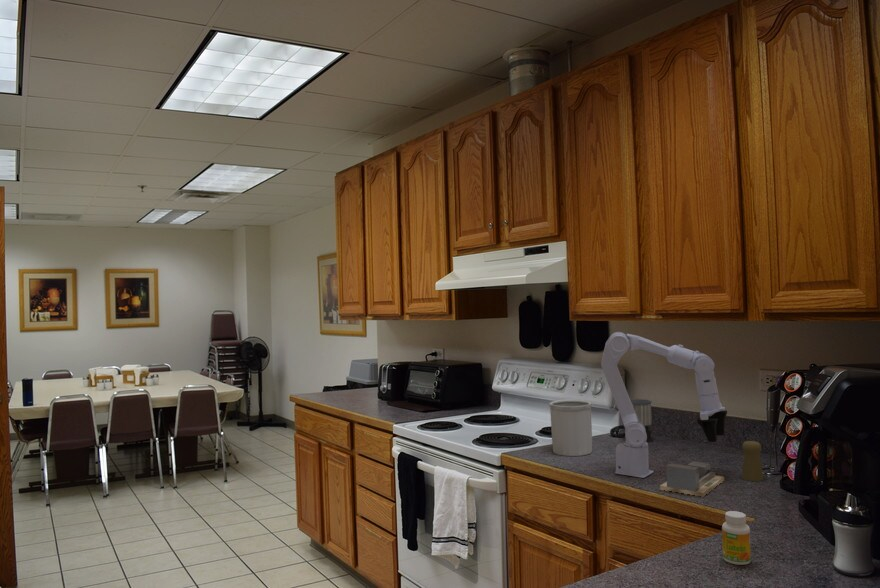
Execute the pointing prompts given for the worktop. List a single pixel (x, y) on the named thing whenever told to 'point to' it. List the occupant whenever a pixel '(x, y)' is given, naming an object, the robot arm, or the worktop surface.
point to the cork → (752, 461)
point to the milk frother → (639, 418)
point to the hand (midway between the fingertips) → (716, 438)
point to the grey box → (682, 477)
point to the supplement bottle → (736, 538)
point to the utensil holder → (571, 427)
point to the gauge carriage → (701, 468)
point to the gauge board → (705, 485)
